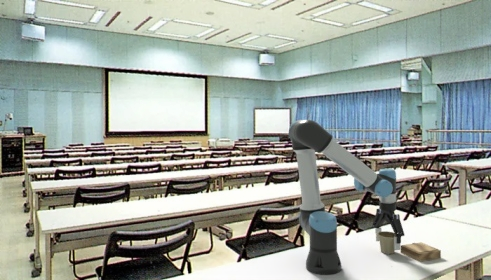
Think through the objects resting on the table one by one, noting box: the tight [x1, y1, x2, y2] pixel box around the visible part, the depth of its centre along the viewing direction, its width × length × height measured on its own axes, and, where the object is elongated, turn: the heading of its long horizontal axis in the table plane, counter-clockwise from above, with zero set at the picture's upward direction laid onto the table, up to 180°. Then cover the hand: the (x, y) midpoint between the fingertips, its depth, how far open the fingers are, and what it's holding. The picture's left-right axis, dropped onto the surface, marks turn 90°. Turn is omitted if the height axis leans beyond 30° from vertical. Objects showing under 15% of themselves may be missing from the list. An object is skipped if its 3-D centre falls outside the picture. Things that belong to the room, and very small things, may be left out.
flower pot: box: [377, 230, 396, 255], centre depth 182 cm, size 9×9×9 cm
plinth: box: [400, 242, 442, 262], centre depth 177 cm, size 12×12×4 cm
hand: (387, 245), depth 182 cm, fingers open, 13 cm apart
